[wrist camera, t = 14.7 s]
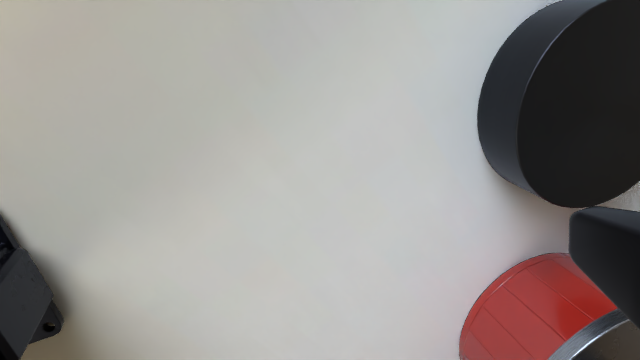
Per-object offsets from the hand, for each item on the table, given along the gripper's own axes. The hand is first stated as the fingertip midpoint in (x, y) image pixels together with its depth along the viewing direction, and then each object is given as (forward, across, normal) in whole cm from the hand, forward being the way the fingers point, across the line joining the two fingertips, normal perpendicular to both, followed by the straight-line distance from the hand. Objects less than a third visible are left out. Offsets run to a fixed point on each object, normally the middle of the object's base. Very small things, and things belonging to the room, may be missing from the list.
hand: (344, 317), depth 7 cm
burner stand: (+13, -16, +3) cm, 21 cm away
